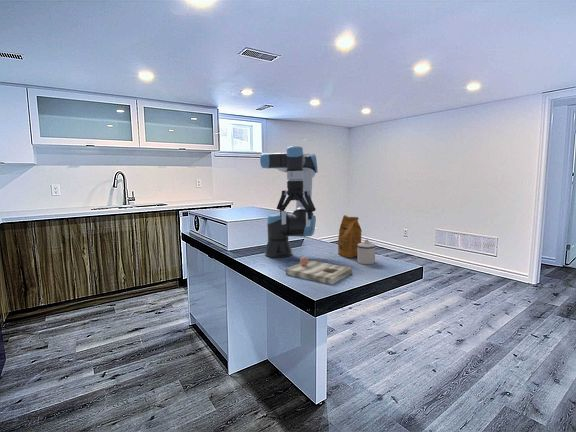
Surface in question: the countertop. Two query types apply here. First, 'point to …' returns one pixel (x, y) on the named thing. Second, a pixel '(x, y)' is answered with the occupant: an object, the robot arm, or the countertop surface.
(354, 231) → the coffee package
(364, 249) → the teacup with lid
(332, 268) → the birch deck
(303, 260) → the ball
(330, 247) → the countertop surface
